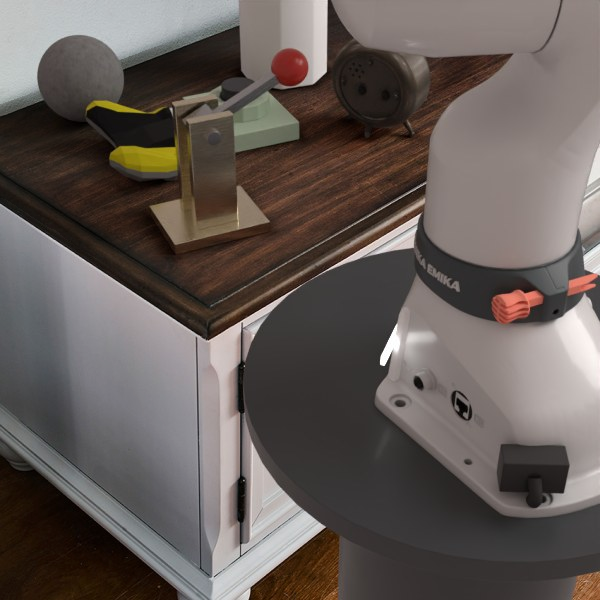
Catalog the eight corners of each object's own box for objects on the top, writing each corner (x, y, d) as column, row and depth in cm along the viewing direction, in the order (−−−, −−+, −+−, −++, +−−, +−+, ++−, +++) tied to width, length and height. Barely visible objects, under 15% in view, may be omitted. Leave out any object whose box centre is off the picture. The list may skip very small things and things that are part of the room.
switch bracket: (240, 195, 110) (235, 82, 102) (270, 231, 104) (267, 115, 96) (150, 215, 106) (138, 101, 99) (175, 254, 100) (165, 136, 93)
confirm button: (261, 101, 120) (261, 87, 119) (229, 108, 118) (228, 94, 117) (248, 88, 123) (248, 74, 122) (216, 94, 121) (216, 80, 120)
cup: (245, 54, 140) (239, -86, 129) (327, 56, 139) (329, -85, 129) (237, 89, 131) (231, -58, 120) (325, 91, 130) (327, -57, 120)
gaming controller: (118, 203, 108) (209, 185, 111) (112, 157, 105) (206, 139, 108) (86, 142, 119) (169, 127, 122) (80, 98, 116) (165, 83, 119)
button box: (299, 139, 120) (299, 107, 118) (219, 156, 117) (217, 124, 114) (259, 98, 129) (258, 68, 126) (183, 113, 125) (181, 83, 123)
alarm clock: (428, 133, 121) (439, -3, 111) (408, 152, 117) (417, 13, 108) (346, 112, 126) (350, -20, 116) (324, 129, 122) (326, -6, 112)
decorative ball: (132, 130, 122) (123, 50, 116) (46, 140, 120) (33, 59, 114) (122, 95, 130) (114, 18, 124) (41, 104, 128) (29, 26, 122)
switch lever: (304, 64, 102) (290, 35, 99) (320, 78, 99) (305, 48, 97) (193, 139, 101) (176, 111, 99) (206, 155, 98) (188, 127, 96)
